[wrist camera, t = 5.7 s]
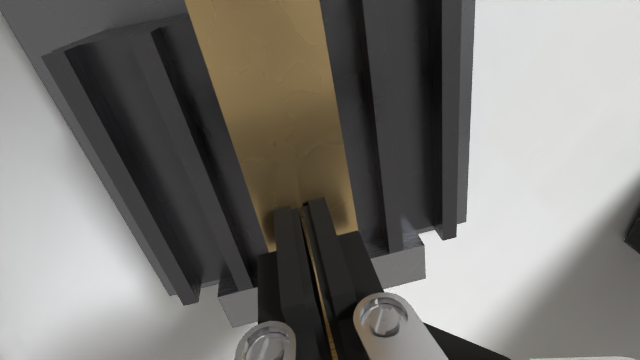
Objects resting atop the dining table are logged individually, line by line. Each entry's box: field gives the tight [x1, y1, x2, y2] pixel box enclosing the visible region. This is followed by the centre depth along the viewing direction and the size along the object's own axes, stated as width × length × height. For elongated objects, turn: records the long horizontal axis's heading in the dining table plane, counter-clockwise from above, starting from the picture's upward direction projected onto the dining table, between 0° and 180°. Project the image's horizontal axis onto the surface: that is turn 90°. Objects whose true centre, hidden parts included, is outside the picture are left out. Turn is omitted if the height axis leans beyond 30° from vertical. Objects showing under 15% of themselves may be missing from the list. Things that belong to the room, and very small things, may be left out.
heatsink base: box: [0, 0, 475, 327], centre depth 15 cm, size 20×18×6 cm
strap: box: [185, 0, 358, 360], centre depth 10 cm, size 18×4×3 cm, turn 10°
